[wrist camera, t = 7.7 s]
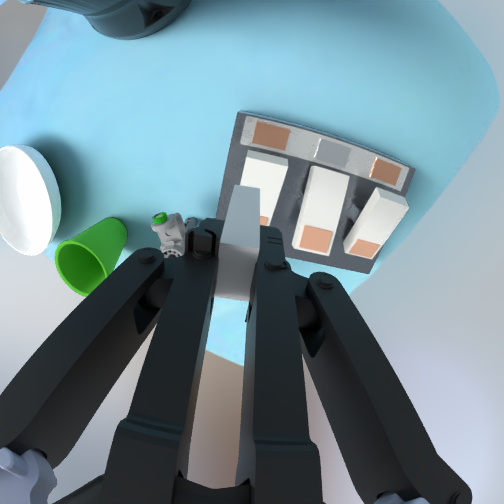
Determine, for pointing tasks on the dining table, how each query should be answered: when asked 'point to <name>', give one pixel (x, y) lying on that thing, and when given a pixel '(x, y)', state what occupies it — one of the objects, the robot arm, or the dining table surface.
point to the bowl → (27, 200)
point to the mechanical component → (172, 233)
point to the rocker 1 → (265, 180)
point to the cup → (91, 255)
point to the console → (299, 163)
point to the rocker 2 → (320, 210)
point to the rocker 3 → (375, 223)
